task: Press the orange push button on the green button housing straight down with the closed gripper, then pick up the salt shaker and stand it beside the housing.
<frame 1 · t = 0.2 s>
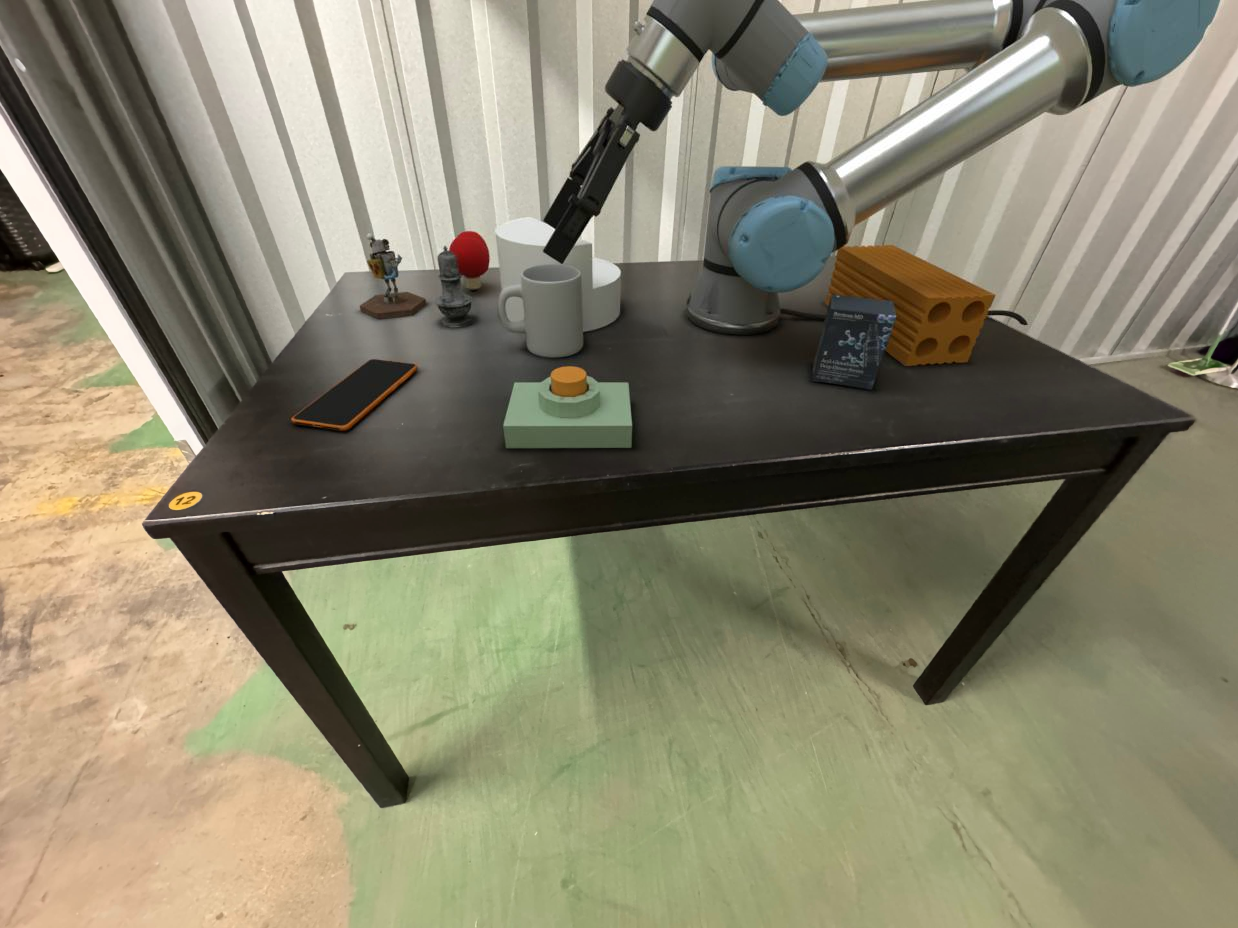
hand: (551, 241, 72), 16 cm above the table, tool tilted 35°, fingers open, 13 cm apart
mug: (543, 348, 83), on the table
brick: (888, 331, 90), on the table
smartphone: (361, 396, 70), on the table
container: (562, 311, 95), on the table
orange push button: (569, 382, 62), point 6 cm above the table, slide at 0.1 cm
box: (841, 379, 76), on the table
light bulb: (474, 291, 103), on the table
robot figurine: (395, 309, 95), on the table
salt shaker: (457, 322, 91), on the table
green button housing: (570, 424, 65), on the table
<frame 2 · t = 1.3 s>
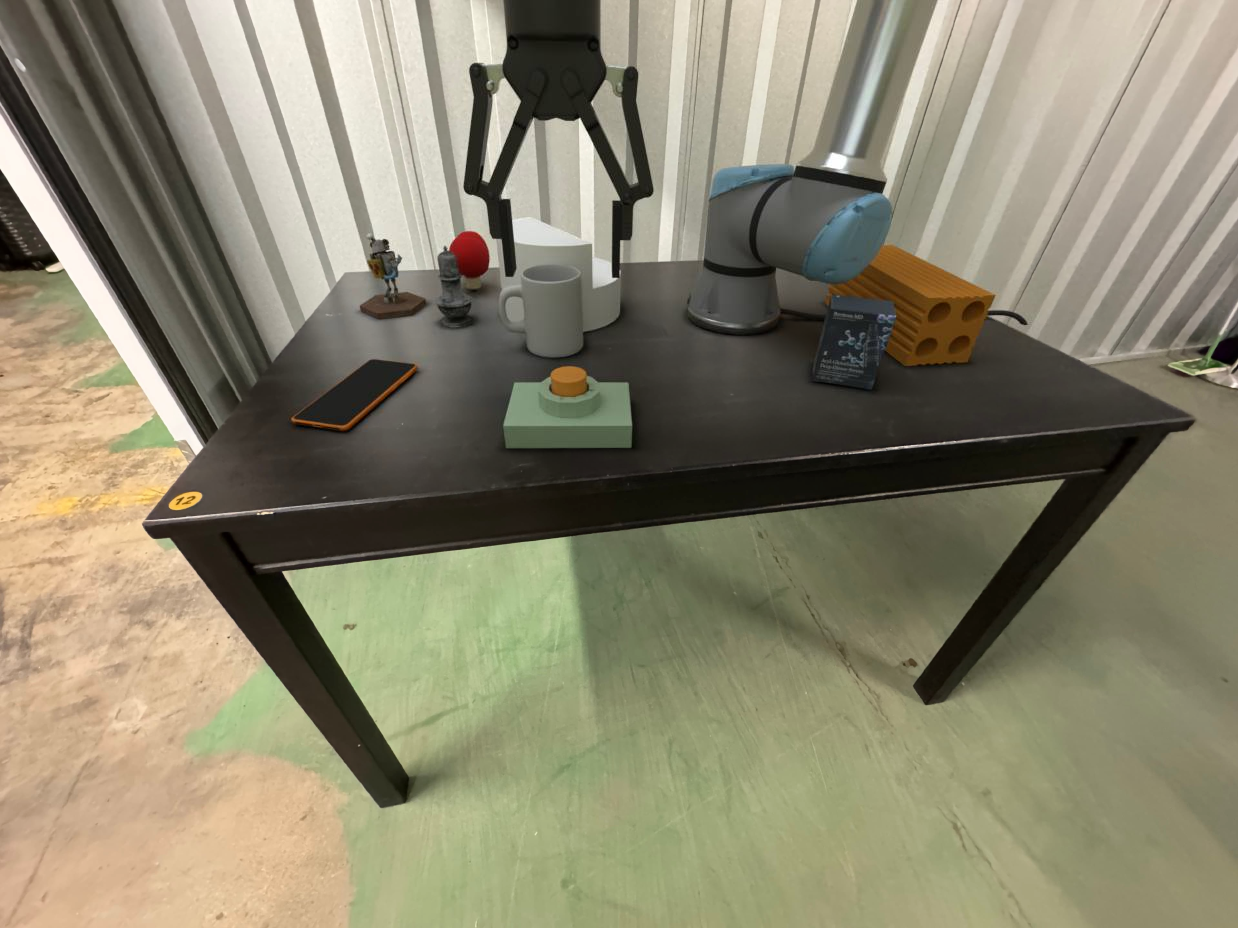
hand: (563, 273, 55), 18 cm above the table, tool pointing down, fingers open, 10 cm apart
nothing on the table moved.
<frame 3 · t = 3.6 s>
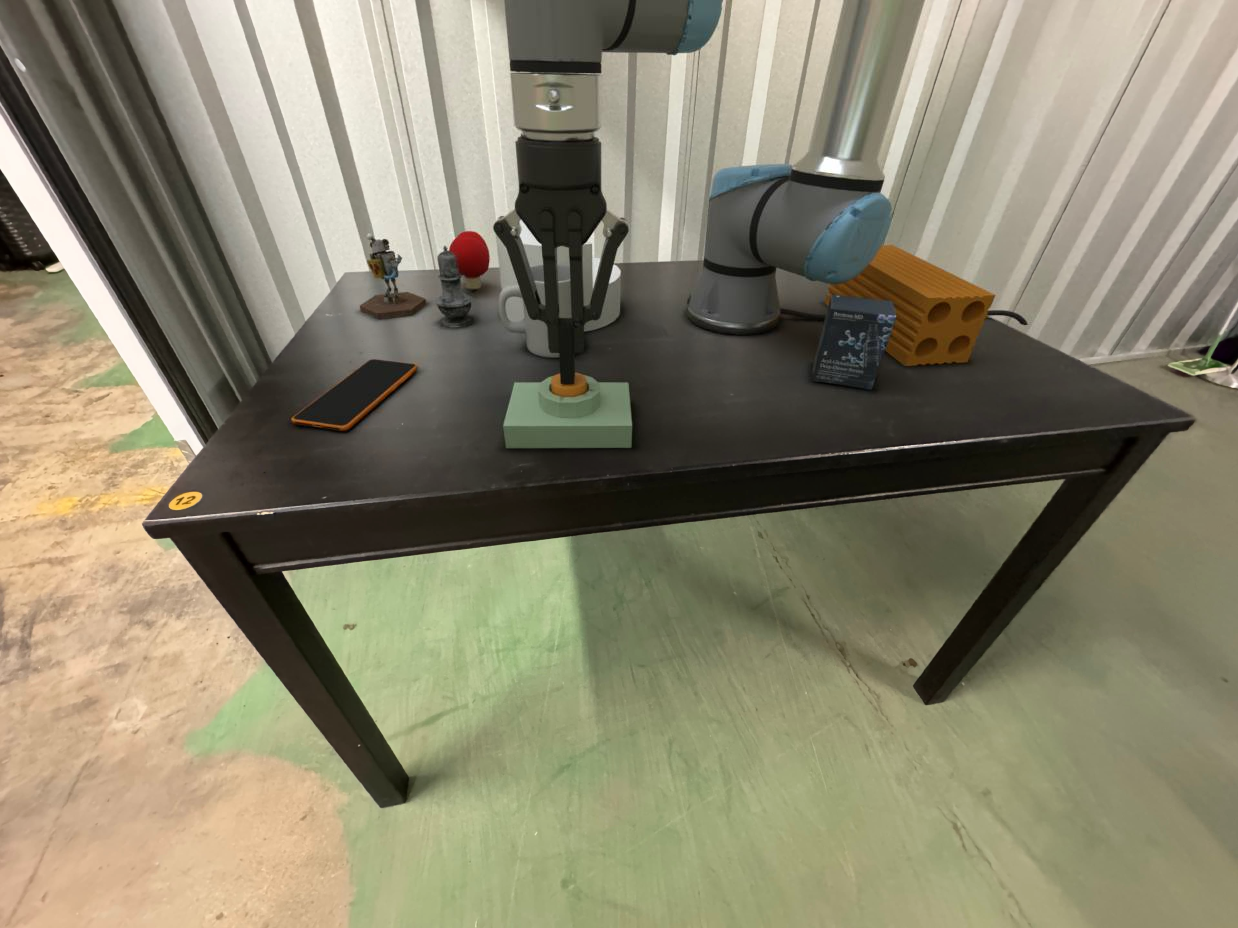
hand: (567, 378, 62), 6 cm above the table, tool pointing down, fingers closed
orange push button: (569, 387, 62), point 5 cm above the table, slide at -0.6 cm, touching gripper
everything else where it was.
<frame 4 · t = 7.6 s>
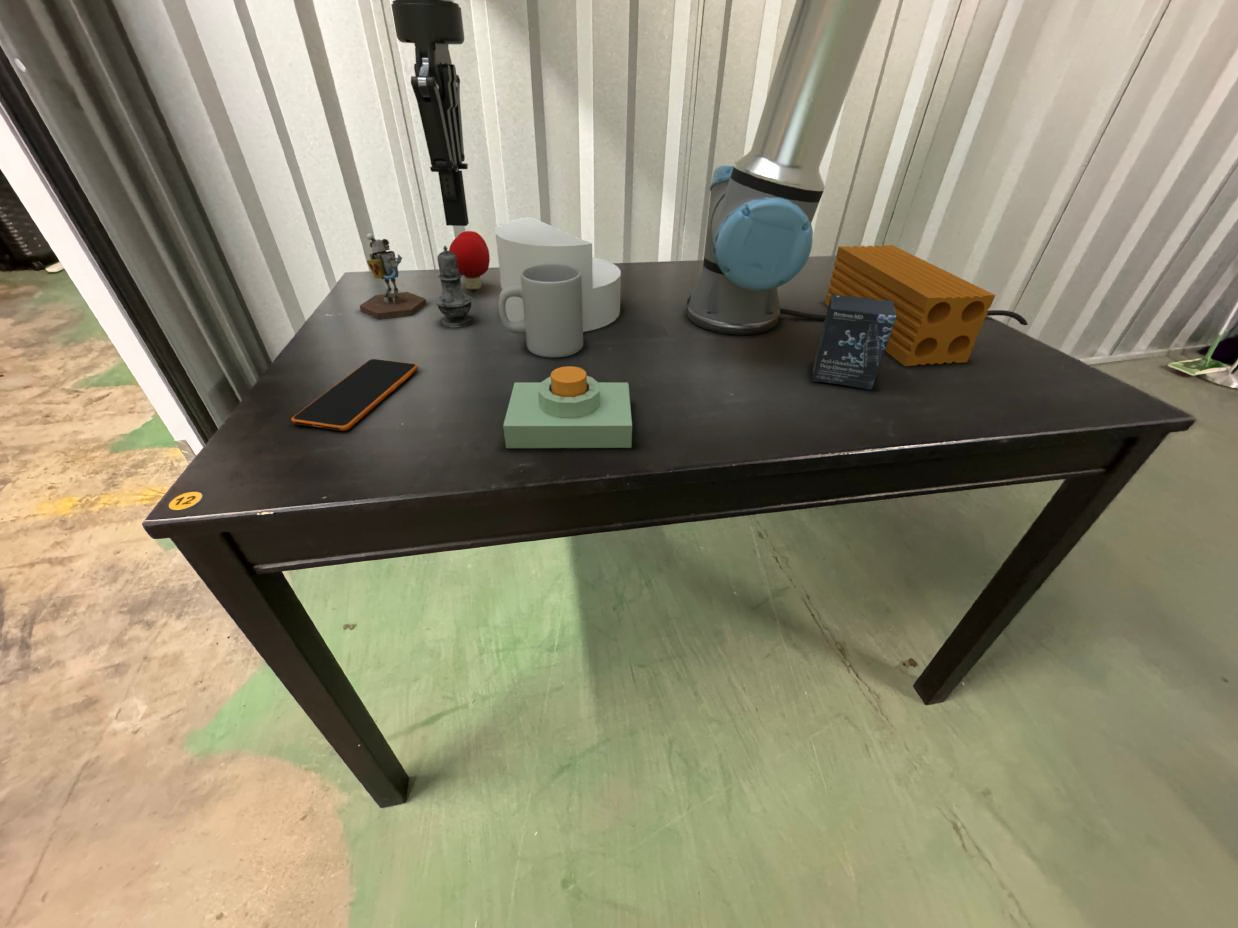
hand: (457, 224, 75), 17 cm above the table, tool pointing down, fingers closed
orange push button: (569, 382, 62), point 6 cm above the table, slide at 0.1 cm
everything else where it was.
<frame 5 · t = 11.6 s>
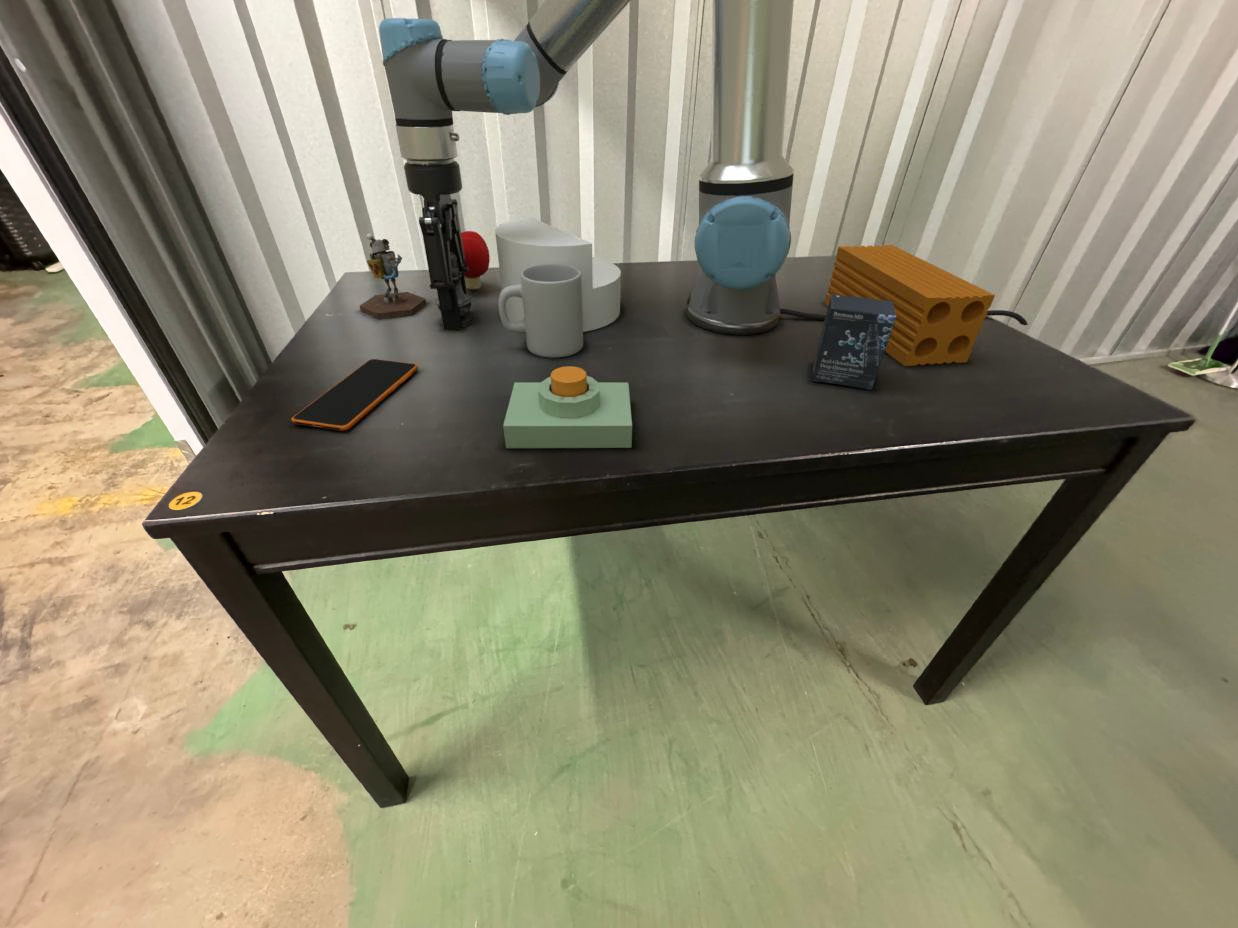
hand: (457, 319, 90), 0 cm above the table, tool pointing down, fingers closed on salt shaker, 6 cm apart
salt shaker: (457, 322, 91), on the table, touching gripper
everything else where it was.
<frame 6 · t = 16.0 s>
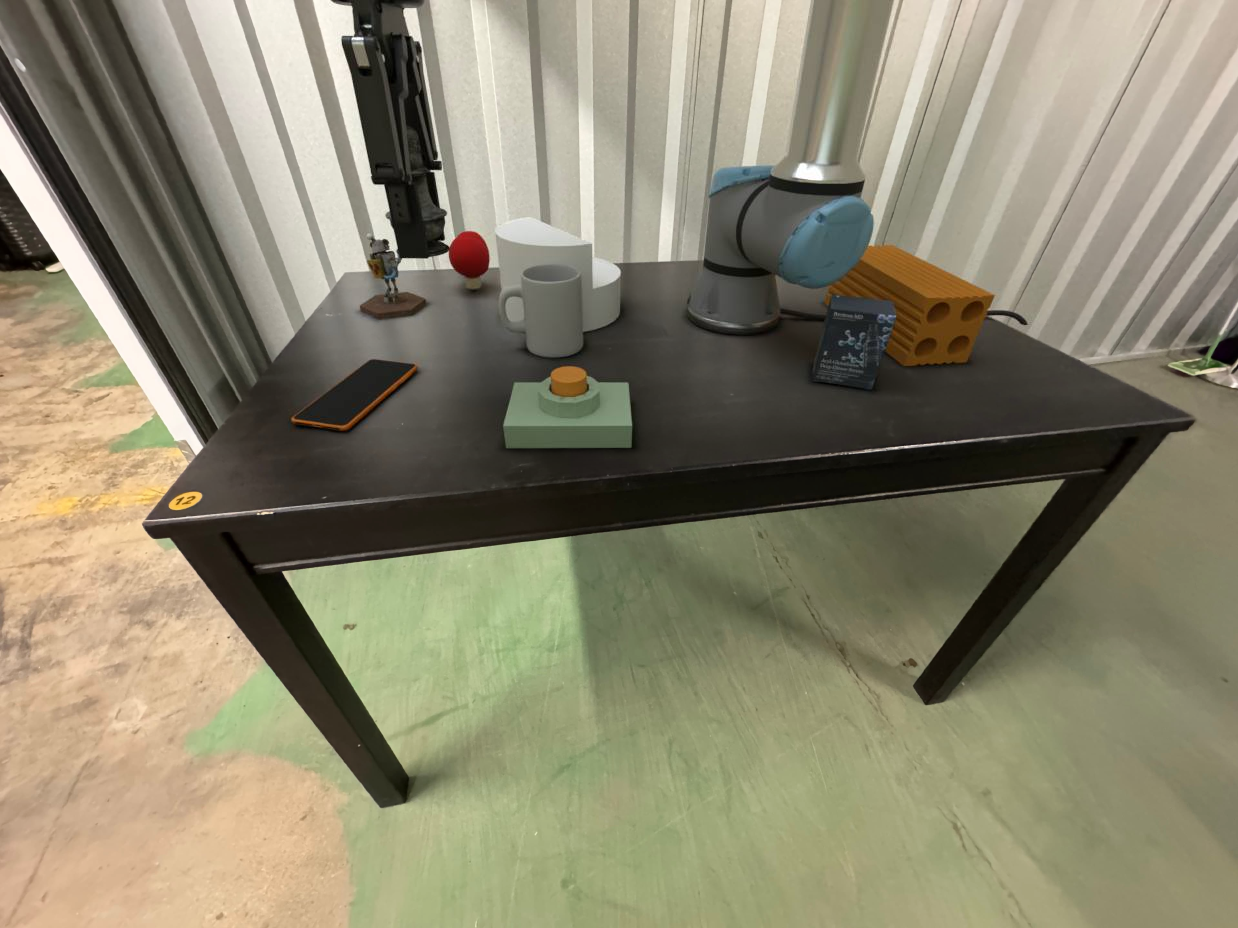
hand: (423, 247, 57), 19 cm above the table, tool pointing down, fingers closed on salt shaker, 6 cm apart
salt shaker: (423, 252, 57), point 19 cm above the table, touching gripper
everything else where it was.
when the fingers open (0 cm above the table, at t = 20.6 s): salt shaker stays where it is, on the table.
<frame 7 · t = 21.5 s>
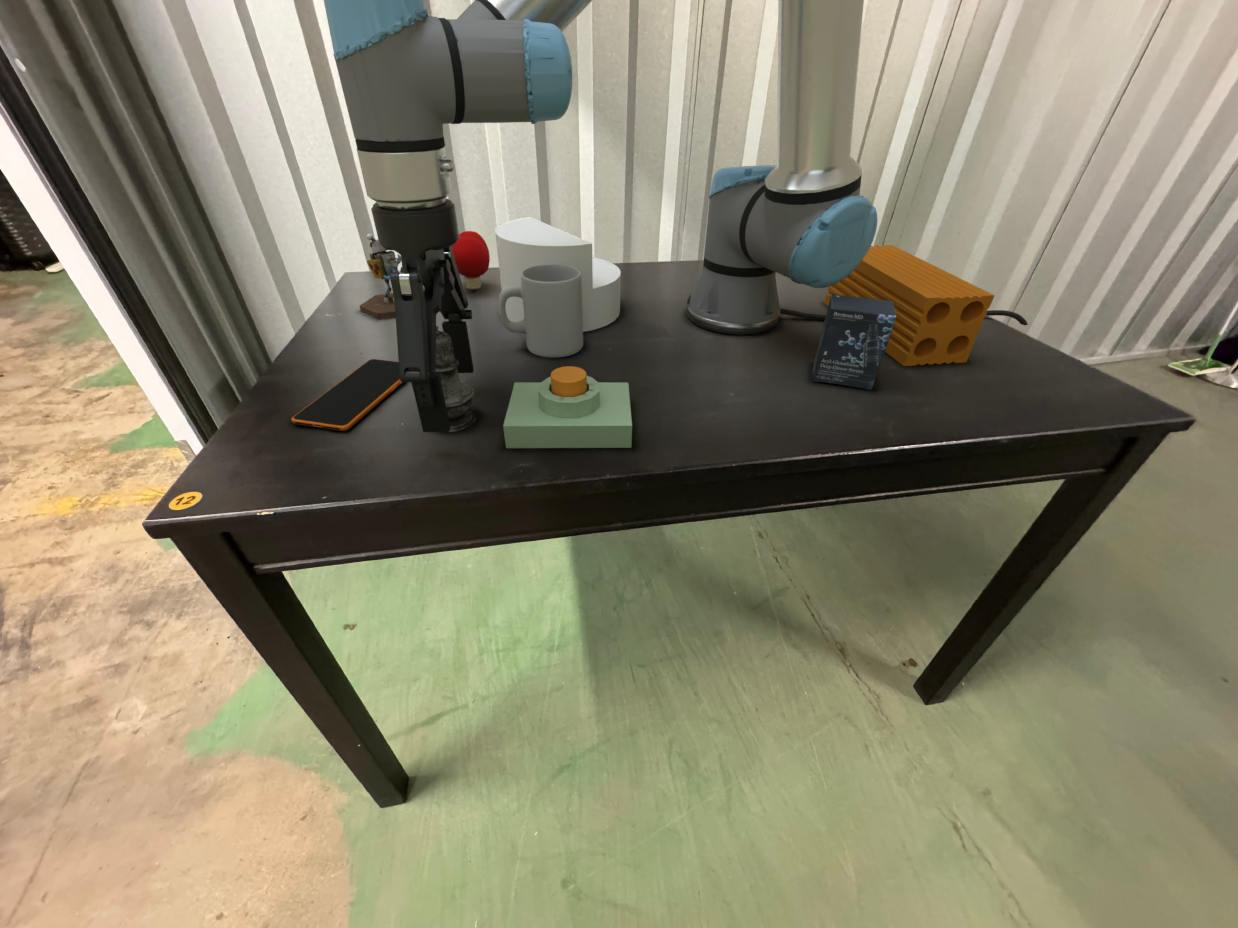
hand: (450, 398, 64), 3 cm above the table, tool pointing down, fingers open, 13 cm apart
salt shaker: (453, 421, 66), on the table
everything else where it was.
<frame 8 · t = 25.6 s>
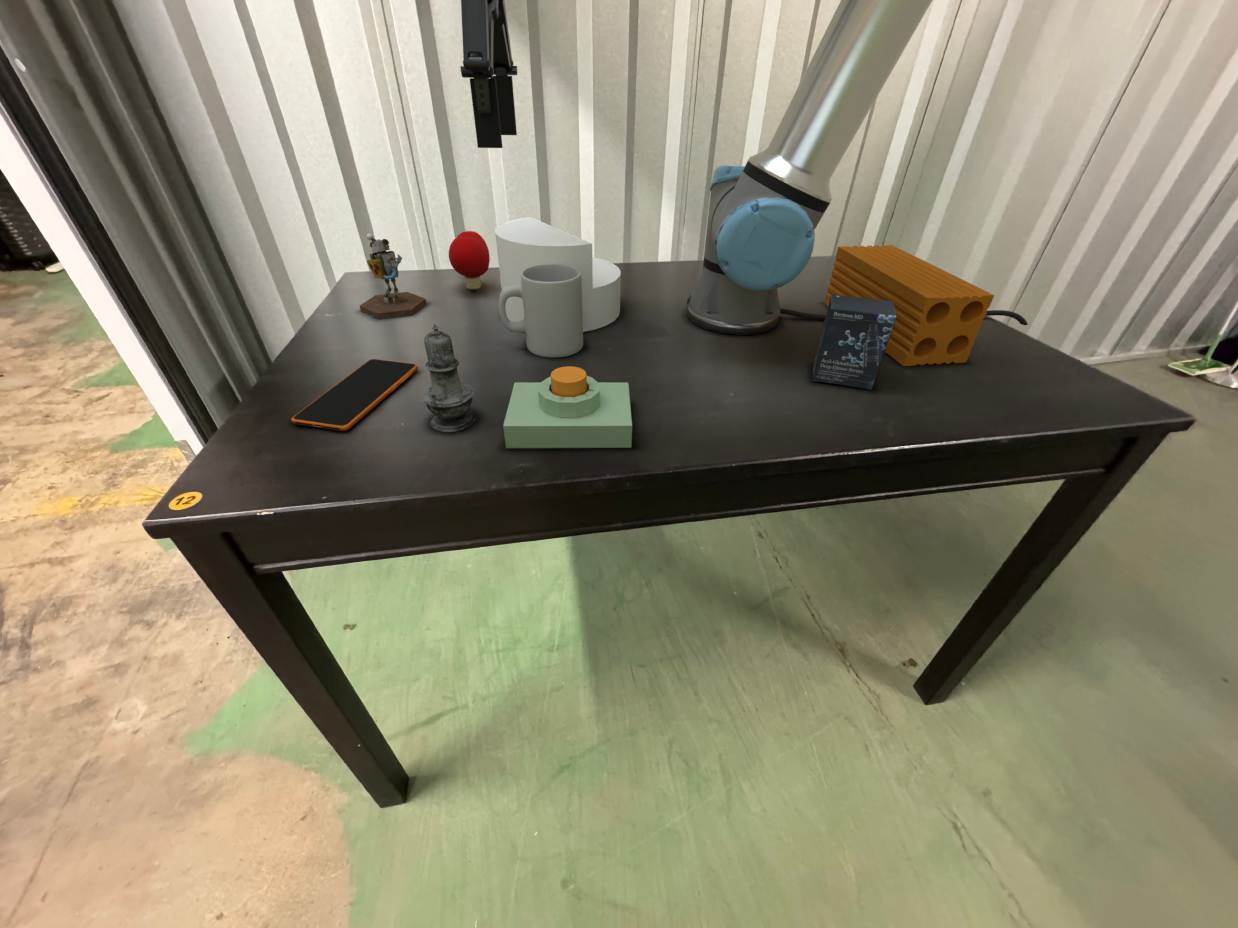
hand: (499, 141, 69), 27 cm above the table, tool pointing down, fingers open, 13 cm apart
nothing on the table moved.
at the end: orange push button pushed in 1.2 cm at the most during the clip, back to where it started at the end; orange push button slide at 0.1 cm; salt shaker inside the target area on the table beside the green button housing (0.5 cm from its centre), on the table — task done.
